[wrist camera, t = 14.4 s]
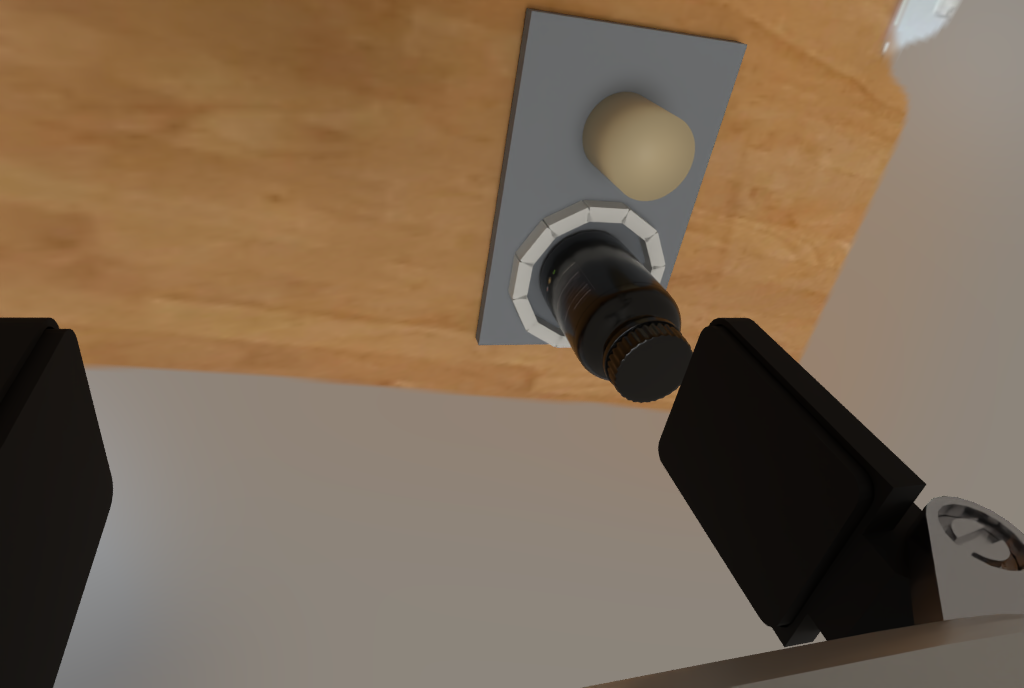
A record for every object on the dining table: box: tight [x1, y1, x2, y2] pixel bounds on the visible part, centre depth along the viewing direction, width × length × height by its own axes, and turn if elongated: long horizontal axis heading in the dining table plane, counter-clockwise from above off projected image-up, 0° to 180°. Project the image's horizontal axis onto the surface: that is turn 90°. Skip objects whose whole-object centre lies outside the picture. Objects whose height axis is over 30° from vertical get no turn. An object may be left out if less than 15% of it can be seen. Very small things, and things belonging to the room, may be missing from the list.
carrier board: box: [476, 8, 747, 348], centre depth 41 cm, size 22×14×6 cm, turn 171°
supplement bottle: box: [540, 231, 693, 403], centre depth 40 cm, size 7×7×12 cm
